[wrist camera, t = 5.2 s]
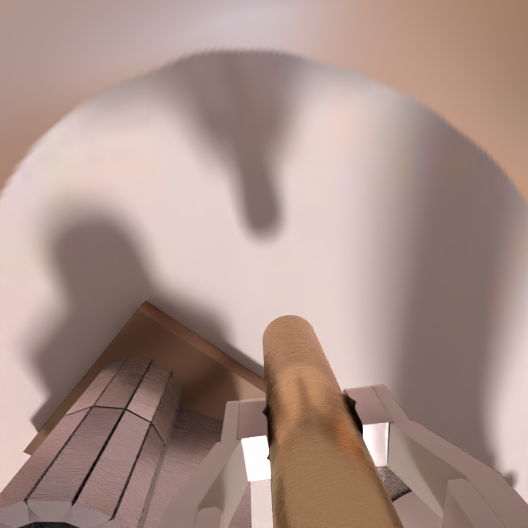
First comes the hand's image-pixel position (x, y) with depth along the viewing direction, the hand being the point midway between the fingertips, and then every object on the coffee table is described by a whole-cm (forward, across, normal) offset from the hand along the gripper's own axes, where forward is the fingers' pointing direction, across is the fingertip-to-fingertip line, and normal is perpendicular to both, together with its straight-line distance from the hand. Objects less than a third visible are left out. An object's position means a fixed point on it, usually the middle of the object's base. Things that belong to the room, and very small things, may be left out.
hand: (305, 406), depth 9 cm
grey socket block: (+9, +12, +10) cm, 18 cm away
